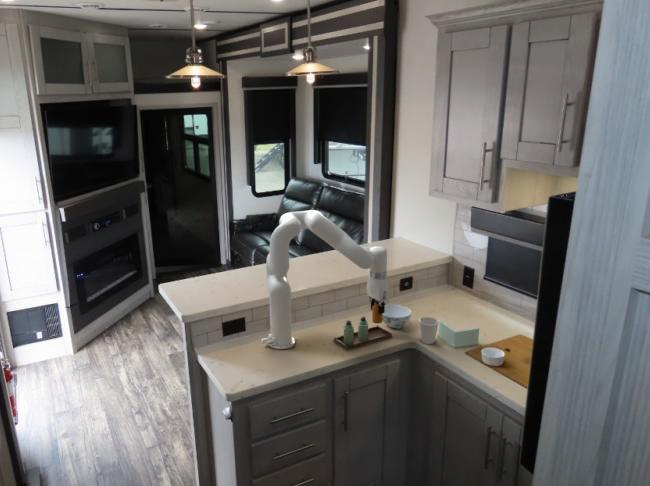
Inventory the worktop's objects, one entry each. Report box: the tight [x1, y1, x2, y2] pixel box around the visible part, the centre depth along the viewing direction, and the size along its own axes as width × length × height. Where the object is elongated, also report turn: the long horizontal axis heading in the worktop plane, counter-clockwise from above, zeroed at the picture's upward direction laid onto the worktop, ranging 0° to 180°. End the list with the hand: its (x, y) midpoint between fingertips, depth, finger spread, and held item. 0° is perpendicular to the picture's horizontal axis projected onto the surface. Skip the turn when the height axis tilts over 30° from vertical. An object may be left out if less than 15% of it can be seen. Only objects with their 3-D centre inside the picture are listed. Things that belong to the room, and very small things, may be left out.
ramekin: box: [480, 347, 506, 367], centre depth 209 cm, size 9×9×4 cm
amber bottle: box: [371, 300, 384, 324], centre depth 233 cm, size 5×5×10 cm
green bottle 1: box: [342, 320, 355, 345], centre depth 229 cm, size 5×5×10 cm
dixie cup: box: [418, 316, 440, 345], centre depth 228 cm, size 8×8×10 cm
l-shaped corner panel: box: [438, 320, 480, 349], centre depth 228 cm, size 12×12×8 cm
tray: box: [333, 325, 393, 351], centre depth 233 cm, size 25×10×2 cm, turn 116°
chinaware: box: [383, 304, 412, 330], centre depth 245 cm, size 15×15×8 cm
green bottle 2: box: [357, 316, 369, 341], centre depth 232 cm, size 5×5×10 cm
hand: (377, 310), depth 233 cm, fingers closed on amber bottle, 4 cm apart
